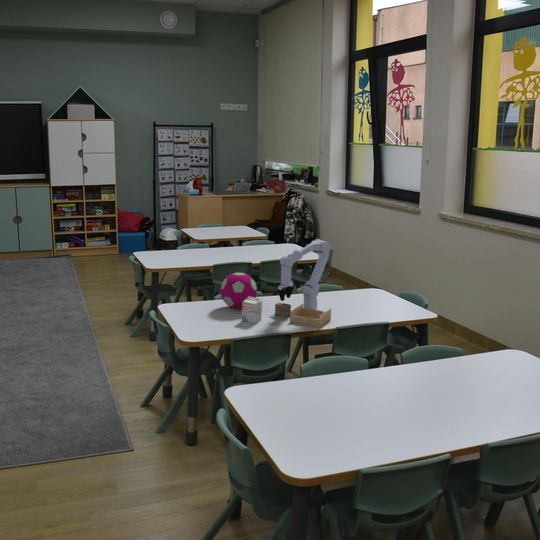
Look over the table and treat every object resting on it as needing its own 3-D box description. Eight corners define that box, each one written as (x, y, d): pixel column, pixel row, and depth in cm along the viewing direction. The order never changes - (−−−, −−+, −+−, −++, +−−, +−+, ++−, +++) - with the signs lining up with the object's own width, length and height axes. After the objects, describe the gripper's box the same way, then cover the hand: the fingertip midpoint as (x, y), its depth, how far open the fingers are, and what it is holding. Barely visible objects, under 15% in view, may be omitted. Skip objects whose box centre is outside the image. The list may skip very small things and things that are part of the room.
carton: (301, 314, 402) (302, 303, 400) (330, 319, 394) (331, 308, 393) (289, 322, 386) (290, 311, 384) (319, 327, 378) (320, 315, 377)
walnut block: (277, 313, 401) (278, 302, 399) (290, 315, 397) (290, 304, 396) (274, 315, 397) (275, 304, 395) (287, 317, 393) (287, 306, 392)
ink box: (241, 320, 386) (242, 298, 383) (248, 317, 394) (249, 295, 390) (254, 323, 382) (255, 300, 379) (261, 319, 390) (262, 297, 387)
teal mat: (277, 312, 404) (277, 312, 404) (294, 315, 400) (294, 314, 400) (269, 317, 395) (269, 316, 395) (286, 320, 390) (286, 319, 390)
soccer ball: (249, 315, 397) (250, 278, 392) (214, 310, 404) (215, 275, 399) (261, 305, 418) (262, 271, 413) (228, 301, 424) (228, 267, 419)
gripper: (286, 280, 387) (285, 303, 390) (297, 275, 399) (296, 297, 403) (275, 278, 390) (274, 301, 394) (287, 273, 403) (286, 295, 406)
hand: (285, 299), depth 398 cm, fingers open, 7 cm apart
